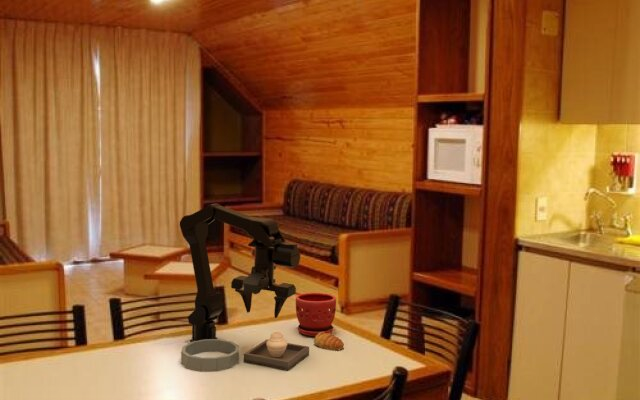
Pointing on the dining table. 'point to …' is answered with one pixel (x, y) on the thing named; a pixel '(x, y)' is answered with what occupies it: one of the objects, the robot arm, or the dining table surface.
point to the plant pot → (315, 313)
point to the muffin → (276, 344)
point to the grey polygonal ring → (210, 362)
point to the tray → (285, 362)
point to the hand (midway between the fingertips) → (262, 314)
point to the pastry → (328, 341)
